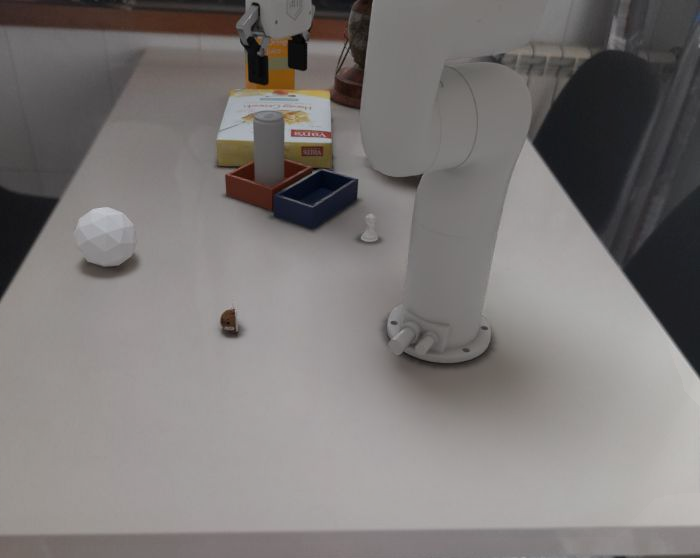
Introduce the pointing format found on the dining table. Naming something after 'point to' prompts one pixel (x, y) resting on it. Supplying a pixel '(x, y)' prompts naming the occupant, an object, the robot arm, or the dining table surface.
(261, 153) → the beverage can
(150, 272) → the dining table surface
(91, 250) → the geometric ball
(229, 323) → the chocolate
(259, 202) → the terracotta bin
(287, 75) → the orange juice
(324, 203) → the navy bin
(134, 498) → the dining table surface
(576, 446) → the dining table surface
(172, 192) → the dining table surface
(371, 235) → the chess pawn
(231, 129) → the cereal box
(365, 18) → the lantern
